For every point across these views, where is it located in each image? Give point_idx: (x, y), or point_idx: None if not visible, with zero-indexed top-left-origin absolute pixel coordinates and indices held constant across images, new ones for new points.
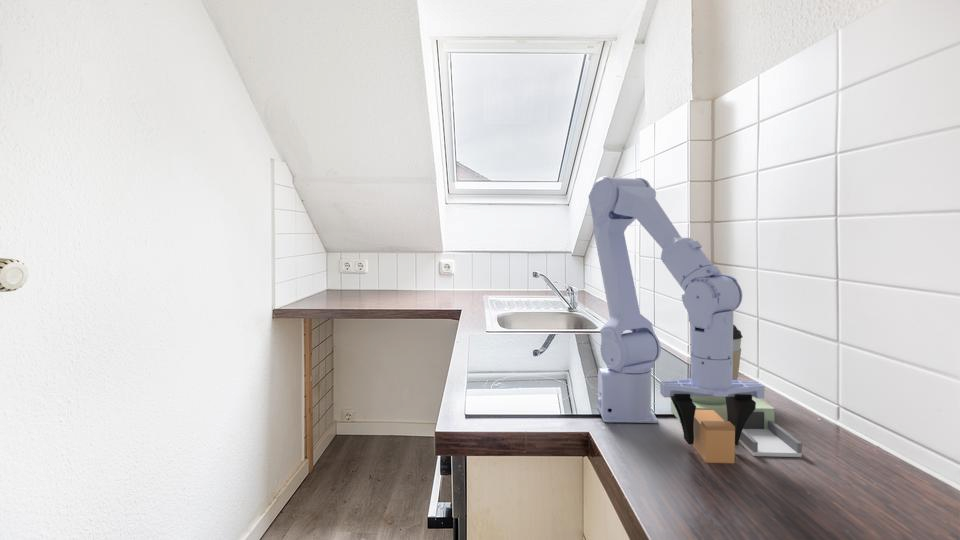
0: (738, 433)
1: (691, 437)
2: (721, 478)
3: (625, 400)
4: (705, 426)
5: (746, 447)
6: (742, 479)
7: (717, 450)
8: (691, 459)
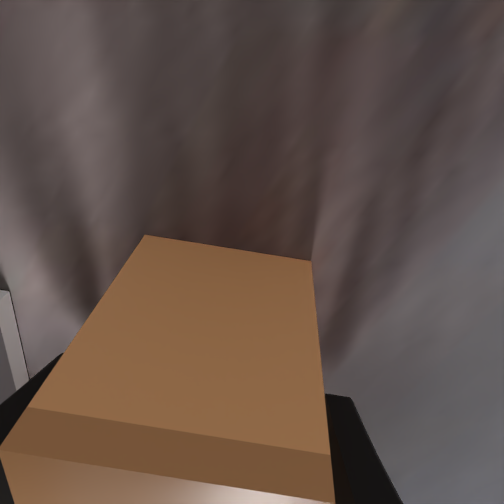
0: (10, 413)
1: (350, 434)
2: (339, 50)
3: None
4: (329, 502)
5: (16, 358)
6: (192, 19)
7: (235, 297)
8: (372, 301)
